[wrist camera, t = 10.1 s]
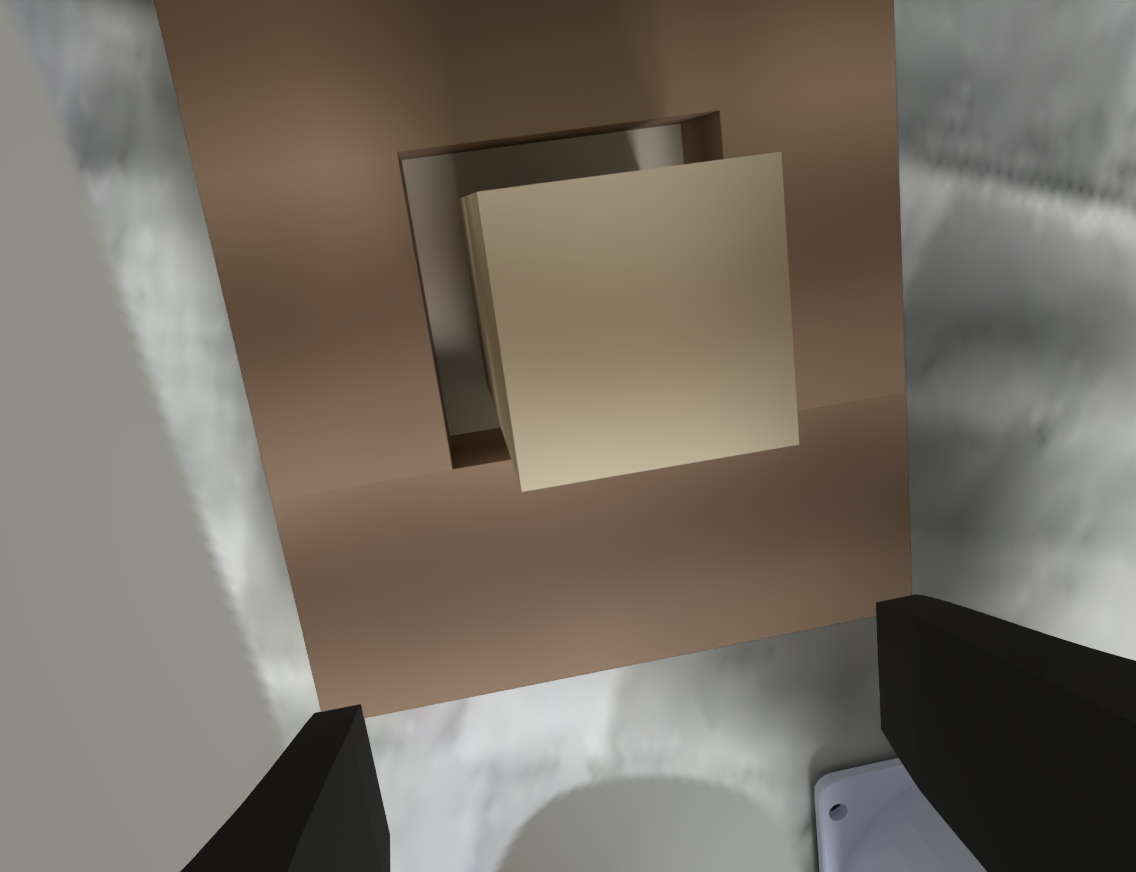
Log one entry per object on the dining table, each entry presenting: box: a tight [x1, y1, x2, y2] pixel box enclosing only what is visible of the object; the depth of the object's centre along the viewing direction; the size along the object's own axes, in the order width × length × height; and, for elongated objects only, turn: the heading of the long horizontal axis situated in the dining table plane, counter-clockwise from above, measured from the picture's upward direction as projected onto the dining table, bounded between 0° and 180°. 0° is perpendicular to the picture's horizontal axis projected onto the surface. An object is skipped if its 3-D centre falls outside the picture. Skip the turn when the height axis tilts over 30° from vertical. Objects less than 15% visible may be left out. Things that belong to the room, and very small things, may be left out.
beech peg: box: [458, 152, 799, 492], centre depth 16 cm, size 4×4×8 cm
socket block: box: [154, 0, 912, 718], centre depth 18 cm, size 16×13×3 cm
